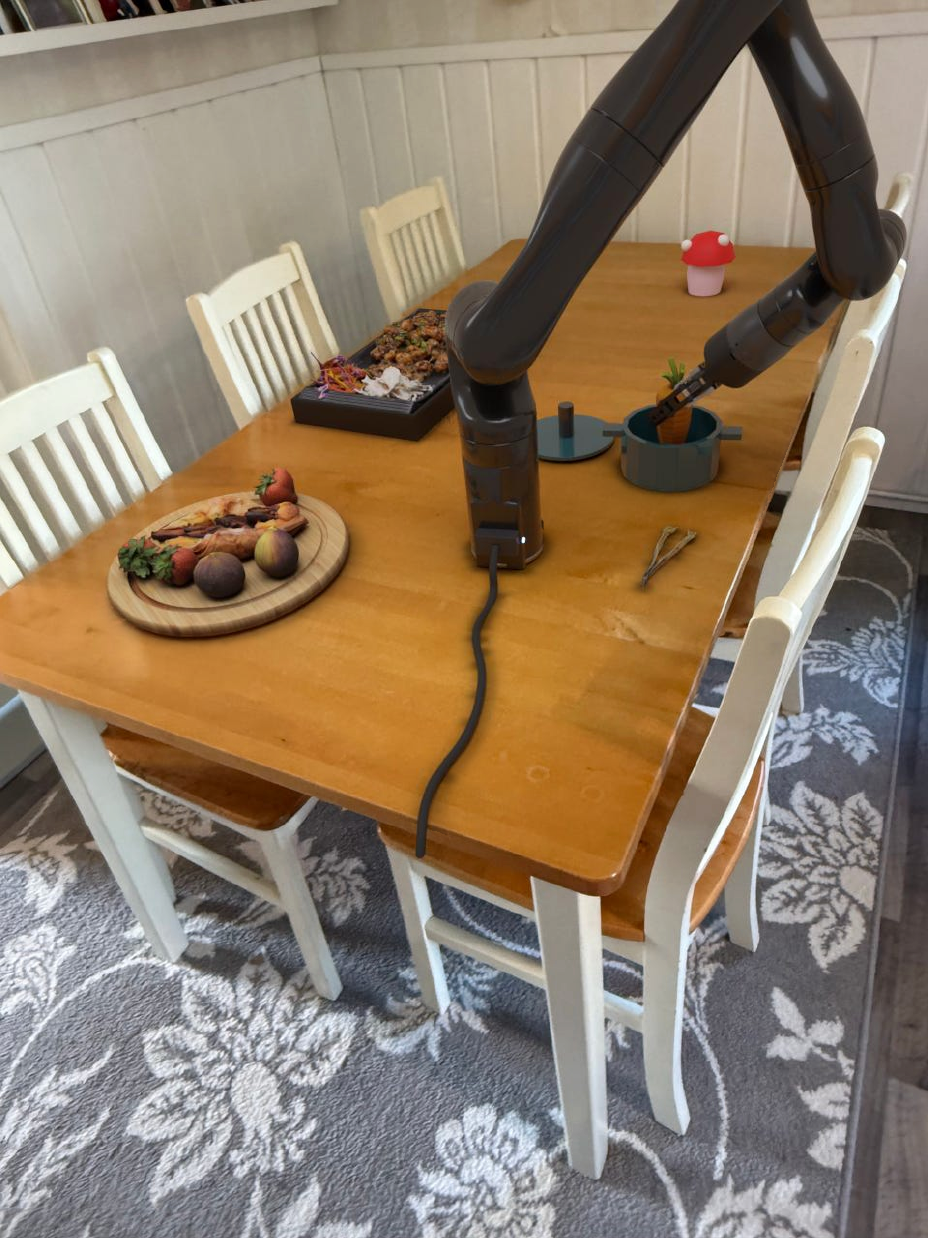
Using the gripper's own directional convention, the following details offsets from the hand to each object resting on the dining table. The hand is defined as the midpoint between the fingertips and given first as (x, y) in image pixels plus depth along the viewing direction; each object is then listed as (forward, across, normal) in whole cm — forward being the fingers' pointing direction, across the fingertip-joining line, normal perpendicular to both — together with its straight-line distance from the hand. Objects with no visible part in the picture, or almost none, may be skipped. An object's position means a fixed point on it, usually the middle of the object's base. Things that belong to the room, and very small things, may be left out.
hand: (661, 412), depth 119 cm
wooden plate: (+30, +52, -18) cm, 63 cm away
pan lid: (+17, +1, -6) cm, 18 cm away
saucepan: (+5, 0, +7) cm, 8 cm away
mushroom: (+27, -70, -16) cm, 77 cm away
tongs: (-3, +20, +15) cm, 26 cm away
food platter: (+44, -6, -33) cm, 55 cm away
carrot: (+4, 0, +6) cm, 8 cm away
